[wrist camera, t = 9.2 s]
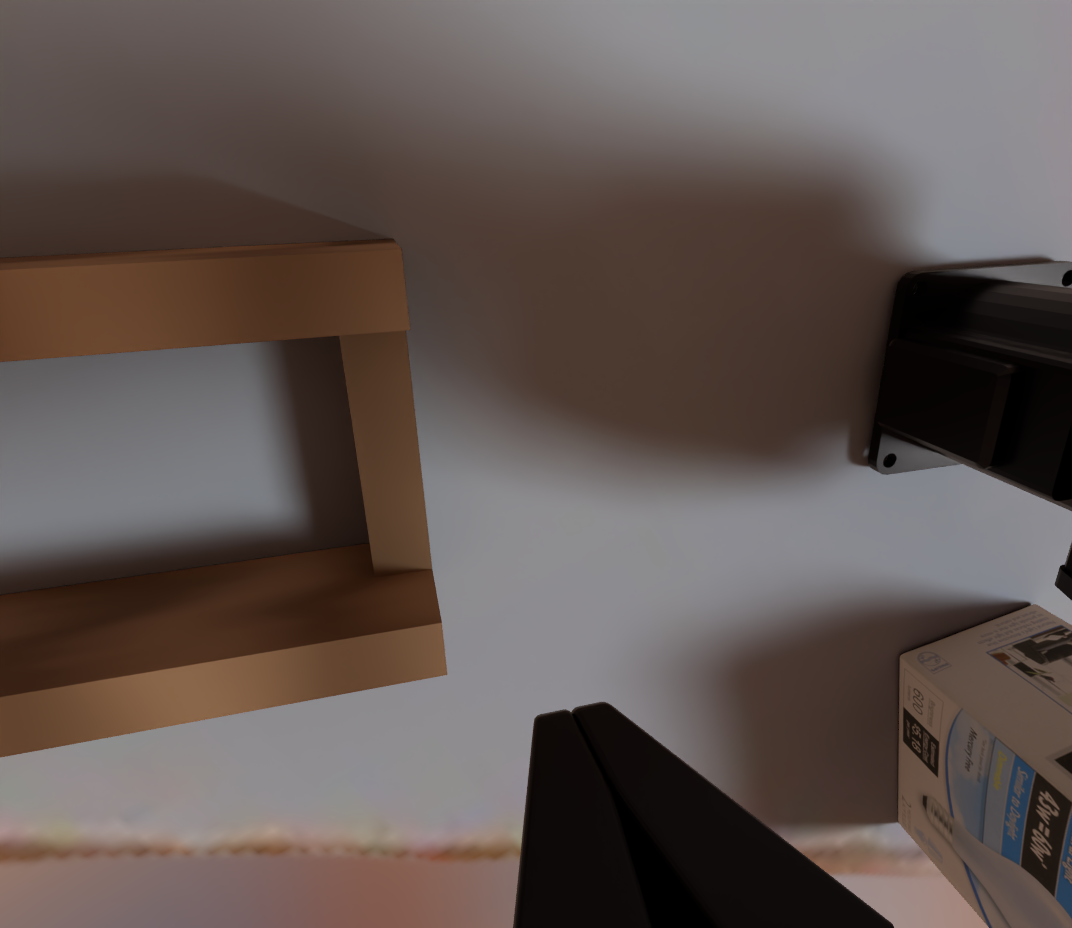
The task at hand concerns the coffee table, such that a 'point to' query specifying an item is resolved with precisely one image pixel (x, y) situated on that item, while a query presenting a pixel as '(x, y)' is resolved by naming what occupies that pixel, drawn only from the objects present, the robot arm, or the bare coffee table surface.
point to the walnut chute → (240, 587)
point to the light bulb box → (993, 765)
